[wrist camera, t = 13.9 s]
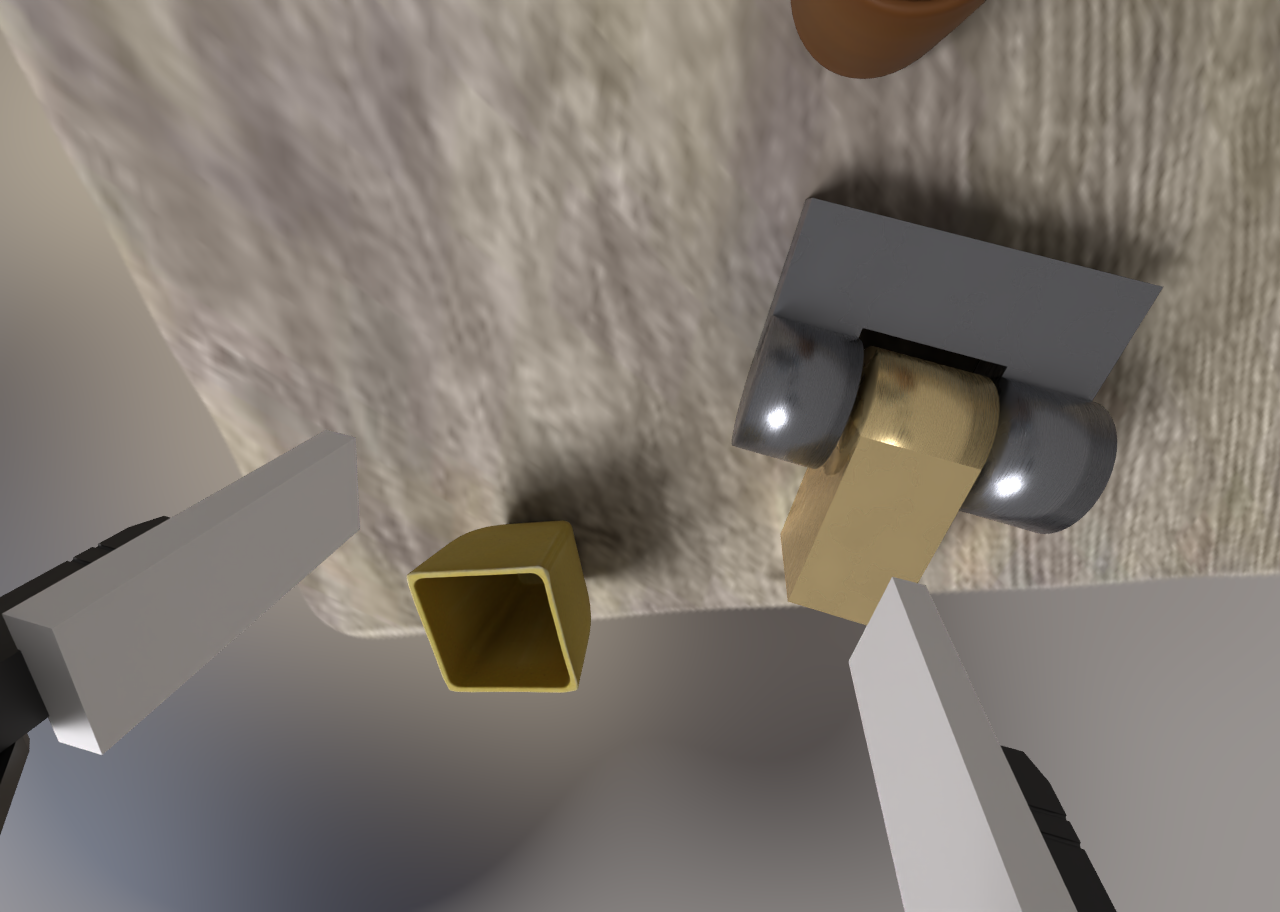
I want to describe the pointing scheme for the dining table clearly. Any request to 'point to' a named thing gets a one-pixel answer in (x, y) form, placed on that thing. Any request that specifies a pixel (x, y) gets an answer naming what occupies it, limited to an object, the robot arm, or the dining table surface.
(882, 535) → the brass curved block
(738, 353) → the dining table surface
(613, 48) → the dining table surface
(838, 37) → the mug
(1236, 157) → the dining table surface
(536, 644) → the flower pot
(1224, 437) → the dining table surface
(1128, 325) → the hinge base leaf
